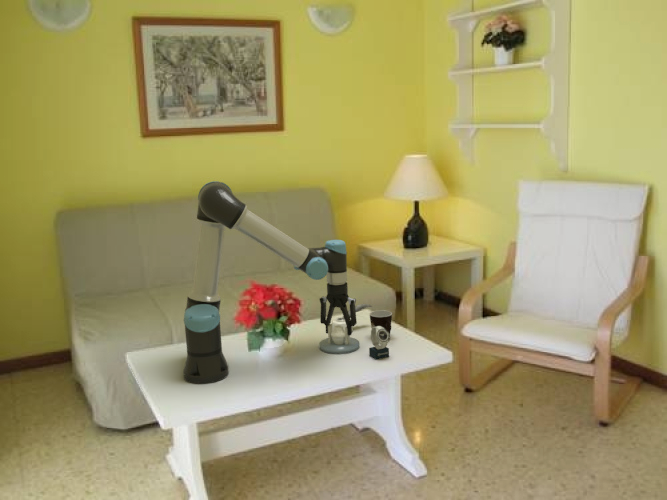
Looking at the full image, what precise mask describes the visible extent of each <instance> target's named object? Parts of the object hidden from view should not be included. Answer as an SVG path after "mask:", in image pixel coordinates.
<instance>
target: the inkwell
mask: <svg viewBox="0 0 667 500" xmlns="http://www.w3.org/2000/svg"><path fill="white" fill-rule="evenodd" d="M372 307H373V305H371V304H368V303H360V304H357V305H355V311H356V313H357V312H358V313H359V312H360V311H362V310H364V309H366V308H372ZM348 313H349V316H350V319H351V315H350V309H348ZM331 324H332V329H333V330H334V327H335V326H338V325H340V326H342V327H343V329H344V330H345V327H346V326H347V325H346V322H345V319H344V316H343V315H342V316H339V317H336V318H335V319H333V320H331ZM353 327H354V326H352V332H353V331H354V329H353Z"/></svg>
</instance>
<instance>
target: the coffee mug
mask: <svg viewBox="0 0 667 500" xmlns="http://www.w3.org/2000/svg"><path fill="white" fill-rule="evenodd" d="M392 318H393V312H391V310H390V311H389V310H385V309H380V310H379V309H377V310H373V311H371V312H369V320H370V328H371V329H372V328H373V327H377V326H381V327H383V328H384V329H385V330H387V332H388V333H389V334H390V335H389V339H388V341H389V340H390V339H391V331H392Z"/></svg>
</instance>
